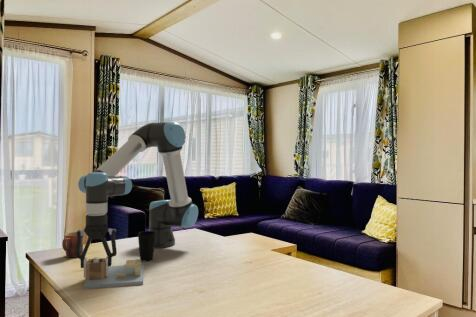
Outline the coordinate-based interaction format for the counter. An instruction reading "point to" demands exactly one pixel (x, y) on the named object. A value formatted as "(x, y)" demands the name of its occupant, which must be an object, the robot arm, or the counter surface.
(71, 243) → the mug
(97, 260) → the cylinder
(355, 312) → the counter surface
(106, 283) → the board
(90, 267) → the link
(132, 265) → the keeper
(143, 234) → the cup
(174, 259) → the counter surface
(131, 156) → the robot arm
